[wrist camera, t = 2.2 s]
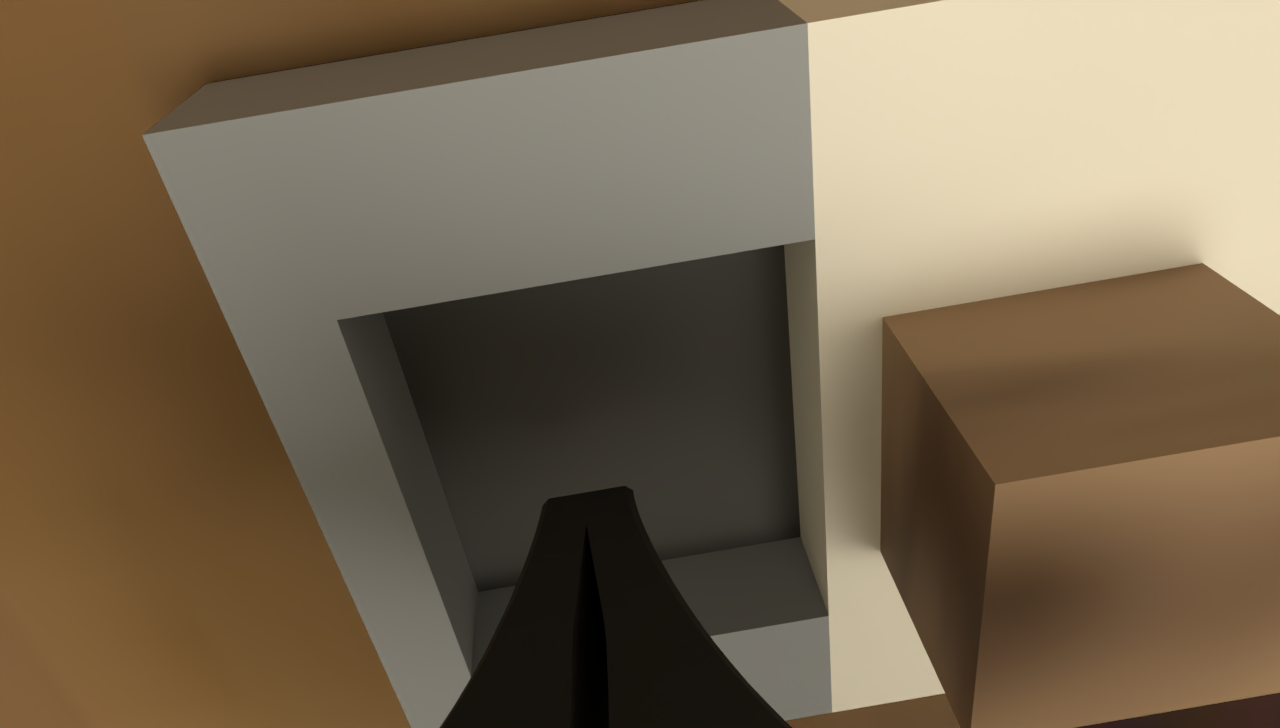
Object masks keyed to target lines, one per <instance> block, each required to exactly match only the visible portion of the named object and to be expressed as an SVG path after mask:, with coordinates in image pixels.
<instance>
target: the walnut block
mask: <svg viewBox="0 0 1280 728" xmlns="http://www.w3.org/2000/svg"><path fill="white" fill-rule="evenodd" d="M880 552H881V554H882V556H883V558H884V561H885V563H886V565H887V567H888V569H889V572H890V574H891V576H892V578H893V580H894V582H895V585H896V587H897V589H898V591H899V593H900V596H901V598H902V600H903V602H904V604H905V607H906V609H907V611H908V613H909V615H910V617H911V620H912V622H913V624H914V626H915V628H916V631H917V633H918V635H919V637H920V639H921V642H922V644H923V646H924V648H925V650H926V653H927V655H928V657H929V659H930V661H931V663H932V666H933V668H934V670H935V672H936V674H937V677H938V679H939V681H940V683H941V685H942V688H943V690H944V692H945V694H946V696H947V698H948V701H949V703H950V705H951V707H952V709H953V712H954V714H955V716H956V718H957V720H958V723H959V725H960V727H961V728H1075V727H1081V726H1087V725H1093V724H1098V723H1104V722H1110V721H1116V720H1122V719H1128V718H1133V717H1139V716H1145V715H1151V714H1157V713H1163V712H1169V711H1174V710H1180V709H1186V708H1192V707H1198V706H1204V705H1209V704H1215V703H1221V702H1227V701H1233V700H1239V699H1244V698H1250V697H1256V696H1262V695H1268V694H1274V693H1280V315H1278V314H1277V313H1276V312H1274V311H1273V310H1271V309H1270V308H1268V307H1267V306H1265V305H1264V304H1262V303H1261V302H1259V301H1258V300H1256V299H1255V298H1253V297H1252V296H1251V295H1249V294H1248V293H1246V292H1245V291H1243V290H1242V289H1240V288H1239V287H1237V286H1236V285H1234V284H1233V283H1231V282H1230V281H1229V280H1227V279H1226V278H1224V277H1223V276H1221V275H1220V274H1218V273H1217V272H1215V271H1214V270H1212V269H1211V268H1209V267H1208V266H1206V265H1205V264H1204V263H1200V264H1194V265H1188V266H1182V267H1176V268H1170V269H1165V270H1159V271H1153V272H1147V273H1141V274H1135V275H1129V276H1123V277H1117V278H1111V279H1106V280H1100V281H1094V282H1088V283H1082V284H1076V285H1070V286H1064V287H1058V288H1052V289H1046V290H1041V291H1035V292H1029V293H1023V294H1017V295H1011V296H1005V297H999V298H993V299H987V300H982V301H976V302H970V303H964V304H958V305H952V306H946V307H940V308H934V309H928V310H922V311H917V312H911V313H905V314H899V315H893V316H887V317H883V326H882V429H881V532H880Z"/></svg>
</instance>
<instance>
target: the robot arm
mask: <svg viewBox="0 0 1280 728" xmlns="http://www.w3.org/2000/svg"><path fill="white" fill-rule="evenodd" d="M440 728H792V727H791V726H790V725H789V724H788V723H787V722H786V721H785V720H784V719H783V718H782V717H781V716H780V715H779V714H778V713H777V712H776V711H775V710H774V709H773V708H772V707H771V706H770V705H769V704H768V703H767V702H766V701H765V700H764V699H763V698H762V697H761V696H760V695H759V694H758V692H757V691H756V690H755V689H754V688H753V687H752V686H751V685H750V684H749V683H748V682H747V681H746V679H745V678H744V677H743V676H742V675H741V674H740V672H739V671H738V670H737V669H736V668H735V667H734V665H733V664H732V663H731V662H730V661H729V660H728V658H727V657H726V656H725V655H724V653H723V652H722V651H721V650H720V648H719V647H718V646H717V645H716V643H715V642H714V641H713V639H712V638H711V637H710V635H709V634H708V633H707V631H706V630H705V629H704V627H703V626H702V625H701V623H700V622H699V620H698V619H697V618H696V616H695V615H694V613H693V612H692V610H691V609H690V607H689V606H688V604H687V603H686V601H685V600H684V598H683V597H682V595H681V594H680V592H679V590H678V589H677V587H676V586H675V584H674V582H673V581H672V579H671V577H670V575H669V574H668V572H667V570H666V569H665V567H664V565H663V563H662V562H661V560H660V558H659V556H658V554H657V552H656V551H655V549H654V547H653V545H652V543H651V541H650V538H649V536H648V534H647V532H646V530H645V527H644V525H643V523H642V520H641V518H640V515H639V512H638V509H637V506H636V502H635V497H634V492H633V490H632V489H630V488H628V487H627V486H620V487H614V488H608V489H602V490H596V491H591V492H585V493H579V494H573V495H567V496H561V497H555V498H549V499H548V500H547V501H546V502H545V503H544V504H543V506H542V510H541V515H540V518H539V522H538V525H537V529H536V532H535V535H534V538H533V541H532V544H531V547H530V550H529V553H528V556H527V558H526V561H525V564H524V567H523V569H522V572H521V574H520V576H519V579H518V581H517V584H516V586H515V589H514V591H513V594H512V596H511V598H510V601H509V603H508V605H507V608H506V610H505V612H504V614H503V616H502V618H501V620H500V622H499V624H498V626H497V628H496V630H495V633H494V635H493V637H492V639H491V641H490V643H489V645H488V647H487V649H486V651H485V653H484V655H483V657H482V658H481V660H480V662H479V664H478V666H477V668H476V669H475V671H474V673H473V675H472V677H471V678H470V680H469V682H468V683H467V685H466V687H465V688H464V690H463V692H462V693H461V695H460V697H459V699H458V700H457V702H456V703H455V705H454V707H453V708H452V710H451V711H450V713H449V714H448V716H447V717H446V719H445V720H444V722H443V723H442V725H441V726H440Z"/></svg>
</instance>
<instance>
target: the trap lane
mask: <svg viewBox="0 0 1280 728" xmlns="http://www.w3.org/2000/svg"><path fill="white" fill-rule="evenodd" d="M142 136H143V139H144V141H145V143H146V145H147V147H148V150H149V152H150V154H151V156H152V158H153V161H154V163H155V165H156V167H157V169H158V172H159V174H160V176H161V178H162V180H163V183H164V185H165V187H166V189H167V191H168V194H169V196H170V198H171V200H172V202H173V205H174V207H175V209H176V211H177V213H178V216H179V218H180V220H181V222H182V224H183V227H184V229H185V231H186V233H187V235H188V238H189V240H190V242H191V244H192V246H193V249H194V251H195V253H196V255H197V257H198V260H199V262H200V264H201V266H202V268H203V271H204V273H205V275H206V277H207V279H208V282H209V284H210V286H211V288H212V290H213V293H214V295H215V297H216V299H217V301H218V304H219V306H220V308H221V310H222V312H223V315H224V317H225V319H226V321H227V323H228V326H229V328H230V330H231V332H232V334H233V337H234V339H235V341H236V343H237V345H238V348H239V350H240V352H241V354H242V356H243V359H244V361H245V363H246V365H247V367H248V370H249V372H250V374H251V376H252V378H253V381H254V383H255V385H256V387H257V389H258V392H259V394H260V396H261V398H262V400H263V403H264V405H265V407H266V409H267V411H268V414H269V416H270V418H271V420H272V422H273V425H274V427H275V429H276V431H277V433H278V436H279V438H280V440H281V442H282V444H283V447H284V449H285V451H286V453H287V455H288V458H289V460H290V462H291V464H292V466H293V469H294V471H295V473H296V475H297V477H298V480H299V482H300V484H301V486H302V488H303V491H304V493H305V495H306V497H307V499H308V502H309V504H310V506H311V508H312V510H313V513H314V515H315V517H316V519H317V521H318V524H319V526H320V528H321V530H322V532H323V535H324V537H325V539H326V541H327V543H328V546H329V548H330V550H331V552H332V554H333V557H334V559H335V561H336V563H337V565H338V568H339V570H340V572H341V574H342V576H343V579H344V581H345V583H346V585H347V587H348V590H349V592H350V594H351V596H352V598H353V601H354V603H355V605H356V607H357V609H358V612H359V614H360V616H361V618H362V620H363V623H364V625H365V627H366V629H367V631H368V634H369V636H370V638H371V640H372V642H373V645H374V647H375V649H376V651H377V653H378V656H379V658H380V660H381V662H382V664H383V667H384V669H385V671H386V673H387V675H388V678H389V680H390V682H391V684H392V686H393V689H394V691H395V693H396V695H397V697H398V700H399V702H400V704H401V706H402V708H403V711H404V713H405V715H406V717H407V719H408V722H409V724H410V726H411V728H440V726H441V725H442V723H443V722H444V720H445V719H446V717H447V716H448V714H449V713H450V711H451V710H452V708H453V707H454V705H455V703H456V702H457V700H458V699H459V697H460V695H461V693H462V692H463V690H464V688H465V687H466V685H467V683H468V682H469V680H470V678H471V677H472V675H473V673H474V671H475V669H476V668H477V666H478V664H479V662H480V660H481V658H482V657H483V655H484V653H485V651H486V649H487V647H488V645H489V643H490V641H491V639H492V637H493V635H494V633H495V630H496V628H497V626H498V624H499V622H500V620H501V618H502V616H503V614H504V612H505V610H506V608H507V605H508V603H509V601H510V598H511V596H512V594H513V591H514V589H515V586H516V584H517V581H518V579H519V576H520V574H521V572H522V569H523V567H524V564H525V561H526V558H527V556H528V553H529V550H530V547H531V544H532V541H533V538H534V535H535V532H536V529H537V525H538V522H539V518H540V515H541V510H542V506H543V504H544V503H545V502H546V501H547V500H548V499H549V498H555V497H561V496H567V495H573V494H579V493H585V492H591V491H596V490H602V489H608V488H614V487H620V486H627V487H628V488H630V489H632V490H633V492H634V497H635V502H636V506H637V509H638V512H639V515H640V518H641V520H642V523H643V525H644V527H645V530H646V532H647V534H648V536H649V538H650V541H651V543H652V545H653V547H654V549H655V551H656V552H657V554H658V556H659V558H660V560H661V562H662V563H663V565H664V567H665V569H666V570H667V572H668V574H669V575H670V577H671V579H672V581H673V582H674V584H675V586H676V587H677V589H678V590H679V592H680V594H681V595H682V597H683V598H684V600H685V601H686V603H687V604H688V606H689V607H690V609H691V610H692V612H693V613H694V615H695V616H696V618H697V619H698V620H699V622H700V623H701V625H702V626H703V627H704V629H705V630H706V631H707V633H708V634H709V635H710V637H711V638H712V639H713V641H714V642H715V643H716V645H717V646H718V647H719V648H720V650H721V651H722V652H723V653H724V655H725V656H726V657H727V658H728V660H729V661H730V662H731V663H732V664H733V665H734V667H735V668H736V669H737V670H738V671H739V672H740V674H741V675H742V676H743V677H744V678H745V679H746V681H747V682H748V683H749V684H750V685H751V686H752V687H753V688H754V689H755V690H756V691H757V692H758V694H759V695H760V696H761V697H762V698H763V699H764V700H765V701H766V702H767V703H768V704H769V705H770V706H771V707H772V708H773V709H774V710H775V711H776V712H777V713H778V714H779V715H780V716H781V717H782V718H783V719H784V720H785V721H786V720H792V719H797V718H803V717H809V716H815V715H821V714H827V713H832V712H838V711H844V710H850V709H856V708H862V707H868V706H873V705H879V704H885V703H891V702H897V701H903V700H909V699H914V698H920V697H926V696H932V695H938V694H944V693H945V692H944V690H943V688H942V685H941V683H940V681H939V679H938V677H937V674H936V672H935V670H934V668H933V666H932V663H931V661H930V659H929V657H928V655H927V653H926V650H925V648H924V646H923V644H922V642H921V639H920V637H919V635H918V633H917V631H916V628H915V626H914V624H913V622H912V620H911V617H910V615H909V613H908V611H907V609H906V607H905V604H904V602H903V600H902V598H901V596H900V593H899V591H898V589H897V587H896V585H895V582H894V580H893V578H892V576H891V574H890V572H889V569H888V567H887V565H886V563H885V561H884V558H883V556H882V554H881V552H880V532H881V429H882V326H883V317H887V316H893V315H899V314H905V313H911V312H917V311H922V310H928V309H934V308H940V307H946V306H952V305H958V304H964V303H970V302H976V301H982V300H987V299H993V298H999V297H1005V296H1011V295H1017V294H1023V293H1029V292H1035V291H1041V290H1046V289H1052V288H1058V287H1064V286H1070V285H1076V284H1082V283H1088V282H1094V281H1100V280H1106V279H1111V278H1117V277H1123V276H1129V275H1135V274H1141V273H1147V272H1153V271H1159V270H1165V269H1170V268H1176V267H1182V266H1188V265H1194V264H1200V263H1204V264H1205V265H1206V266H1208V267H1209V268H1211V269H1212V270H1214V271H1215V272H1217V273H1218V274H1220V275H1221V276H1223V277H1224V278H1226V279H1227V280H1229V281H1230V282H1231V283H1233V284H1234V285H1236V286H1237V287H1239V288H1240V289H1242V290H1243V291H1245V292H1246V293H1248V294H1249V295H1251V296H1252V297H1253V298H1255V299H1256V300H1258V301H1259V302H1261V303H1262V304H1264V305H1265V306H1267V307H1268V308H1270V309H1271V310H1273V311H1274V312H1276V313H1277V314H1278V315H1280V0H702V1H696V2H690V3H684V4H678V5H672V6H666V7H660V8H654V9H648V10H642V11H636V12H631V13H625V14H619V15H613V16H607V17H601V18H595V19H589V20H583V21H577V22H571V23H565V24H559V25H553V26H547V27H541V28H535V29H529V30H523V31H517V32H511V33H505V34H499V35H494V36H488V37H482V38H476V39H470V40H464V41H458V42H452V43H446V44H440V45H434V46H428V47H422V48H416V49H410V50H404V51H398V52H392V53H386V54H380V55H374V56H368V57H362V58H357V59H351V60H345V61H339V62H333V63H327V64H321V65H315V66H309V67H303V68H297V69H291V70H285V71H279V72H273V73H267V74H261V75H255V76H249V77H243V78H237V79H231V80H225V81H220V82H214V83H208V84H205V85H204V86H203V87H202V88H200V89H199V90H198V91H196V92H195V93H194V94H193V95H191V96H190V97H189V98H188V99H186V100H185V101H184V102H183V103H181V104H180V105H179V106H178V107H176V108H175V109H174V110H173V111H171V112H170V113H169V114H168V115H166V116H165V117H164V118H163V119H161V120H160V121H159V122H158V123H156V124H155V125H154V126H153V127H151V128H150V129H149V130H148V131H146V132H145V133H144V134H143V135H142Z"/></svg>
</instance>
